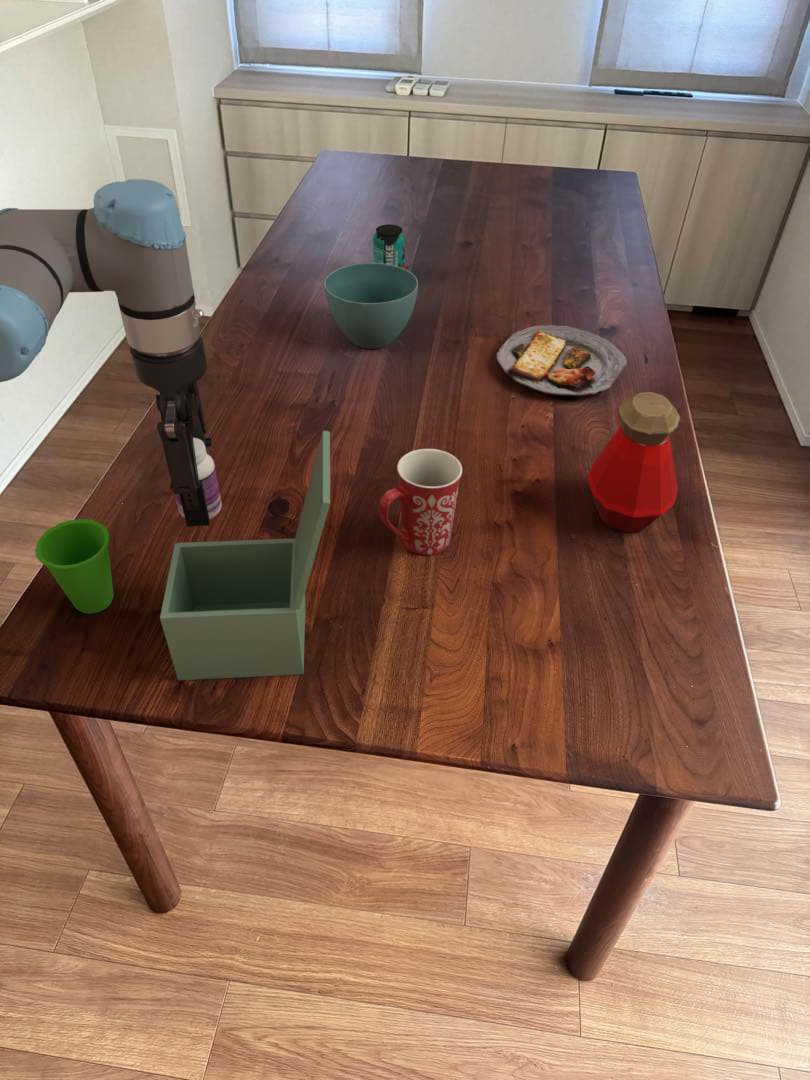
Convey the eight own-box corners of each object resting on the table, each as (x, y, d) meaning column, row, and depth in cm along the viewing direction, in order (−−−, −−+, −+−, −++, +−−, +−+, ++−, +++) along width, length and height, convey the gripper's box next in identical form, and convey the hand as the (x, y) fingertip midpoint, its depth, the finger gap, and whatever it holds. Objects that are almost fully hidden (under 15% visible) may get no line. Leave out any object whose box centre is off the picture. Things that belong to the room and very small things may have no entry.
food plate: (593, 417, 143) (597, 400, 140) (477, 381, 151) (478, 364, 149) (636, 356, 159) (640, 340, 156) (529, 326, 167) (531, 310, 164)
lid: (322, 502, 81) (330, 503, 81) (322, 430, 90) (329, 431, 90) (292, 609, 91) (299, 610, 92) (295, 535, 101) (301, 535, 101)
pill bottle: (228, 498, 101) (218, 437, 94) (212, 526, 97) (200, 463, 90) (189, 492, 102) (175, 430, 95) (171, 519, 98) (156, 456, 91)
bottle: (671, 553, 117) (709, 443, 103) (579, 540, 119) (604, 431, 105) (665, 487, 128) (699, 380, 115) (581, 476, 130) (604, 369, 116)
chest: (178, 680, 99) (159, 618, 91) (190, 605, 108) (174, 542, 100) (303, 674, 100) (296, 612, 92) (305, 600, 109) (299, 538, 101)
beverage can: (409, 278, 182) (410, 226, 174) (396, 291, 178) (397, 238, 170) (381, 272, 184) (381, 220, 176) (368, 284, 180) (367, 232, 172)
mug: (434, 511, 123) (437, 440, 114) (468, 545, 118) (475, 473, 108) (364, 540, 118) (362, 469, 109) (396, 577, 113) (397, 505, 103)
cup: (54, 629, 105) (28, 570, 97) (65, 580, 111) (41, 521, 104) (125, 621, 106) (104, 563, 98) (131, 573, 112) (112, 515, 105)
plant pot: (309, 336, 162) (305, 279, 154) (376, 309, 171) (376, 254, 163) (366, 372, 153) (365, 313, 144) (434, 341, 162) (437, 284, 153)
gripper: (192, 386, 77) (225, 557, 93) (209, 299, 90) (236, 461, 106) (113, 389, 76) (160, 560, 92) (142, 300, 90) (179, 463, 105)
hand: (200, 507), depth 99 cm, fingers closed on pill bottle, 5 cm apart
